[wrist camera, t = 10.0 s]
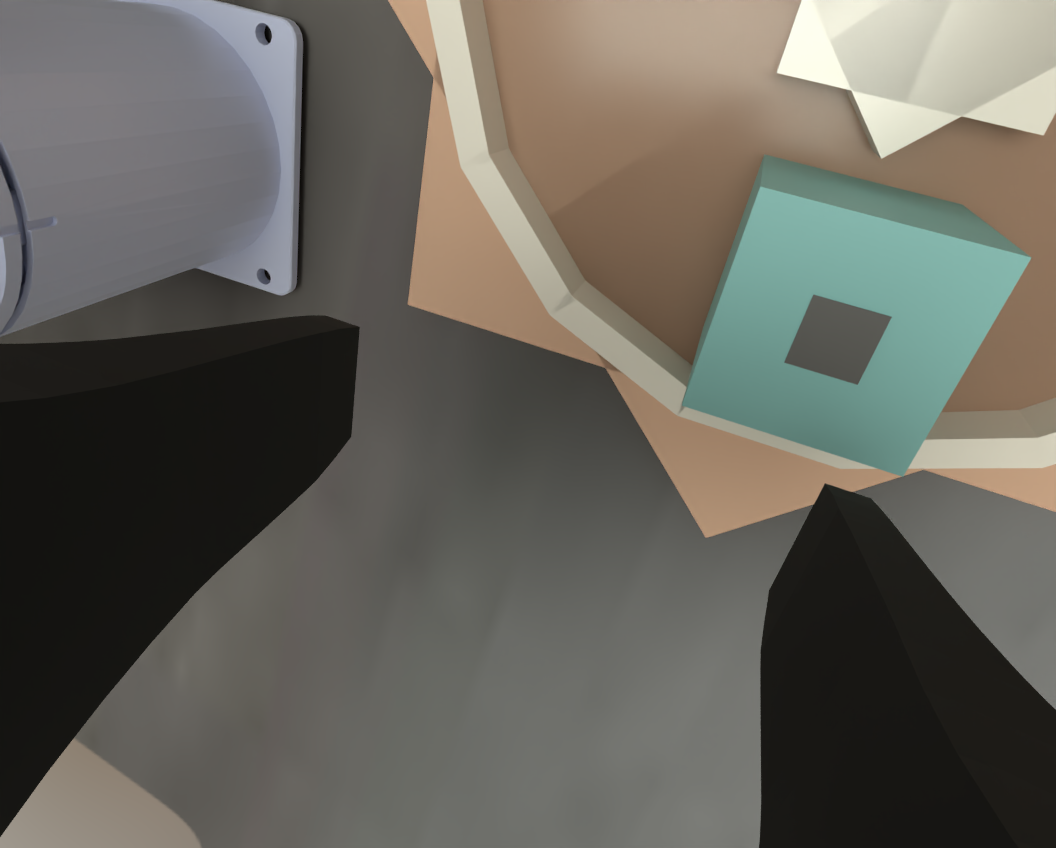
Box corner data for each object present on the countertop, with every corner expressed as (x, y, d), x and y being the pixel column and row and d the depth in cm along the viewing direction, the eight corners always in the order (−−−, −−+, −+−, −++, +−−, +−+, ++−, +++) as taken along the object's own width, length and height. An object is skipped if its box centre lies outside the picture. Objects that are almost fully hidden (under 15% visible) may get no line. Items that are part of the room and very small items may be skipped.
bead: (702, 327, 19) (681, 406, 14) (764, 154, 16) (760, 186, 12) (872, 379, 18) (903, 477, 14) (962, 204, 16) (1032, 258, 11)
